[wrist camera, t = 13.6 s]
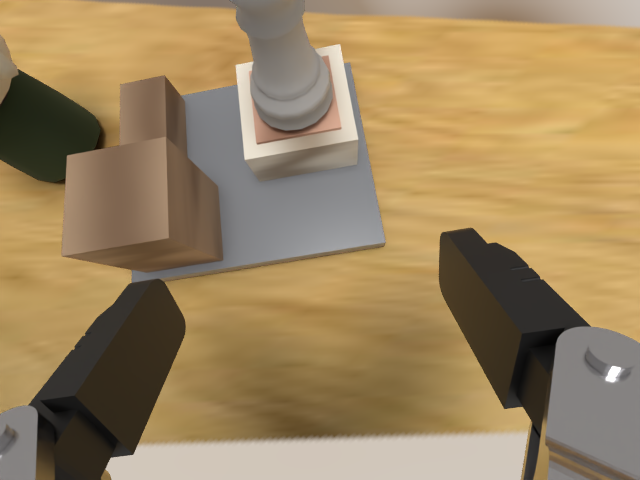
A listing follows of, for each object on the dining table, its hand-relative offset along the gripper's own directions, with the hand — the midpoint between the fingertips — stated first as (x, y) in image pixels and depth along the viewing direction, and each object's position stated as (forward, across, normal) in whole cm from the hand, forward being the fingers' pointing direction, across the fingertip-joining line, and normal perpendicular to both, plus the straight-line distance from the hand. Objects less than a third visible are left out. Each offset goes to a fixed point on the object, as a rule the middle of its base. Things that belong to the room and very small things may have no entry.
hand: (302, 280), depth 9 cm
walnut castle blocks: (+13, +8, 0) cm, 16 cm away
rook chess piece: (+12, 0, -3) cm, 13 cm away
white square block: (+15, 0, -1) cm, 15 cm away
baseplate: (+14, +4, +1) cm, 15 cm away
